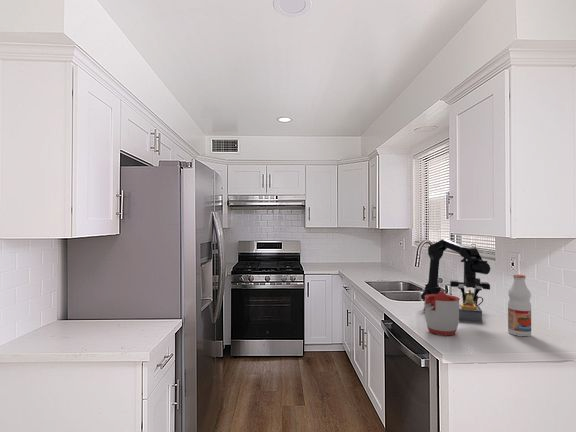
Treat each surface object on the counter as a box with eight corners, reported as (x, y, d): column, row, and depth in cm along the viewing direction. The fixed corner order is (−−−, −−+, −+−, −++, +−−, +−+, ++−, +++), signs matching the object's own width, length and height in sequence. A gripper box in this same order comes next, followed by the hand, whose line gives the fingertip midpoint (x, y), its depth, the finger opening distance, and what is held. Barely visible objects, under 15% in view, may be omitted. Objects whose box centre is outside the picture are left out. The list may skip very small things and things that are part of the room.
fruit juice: (516, 330, 182) (516, 273, 182) (535, 335, 173) (535, 275, 174) (503, 332, 178) (503, 274, 178) (523, 338, 169) (522, 277, 170)
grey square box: (455, 314, 211) (455, 301, 211) (479, 317, 207) (479, 303, 207) (457, 320, 200) (457, 306, 200) (482, 322, 196) (482, 308, 196)
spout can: (464, 302, 198) (465, 288, 198) (473, 303, 197) (473, 289, 197) (465, 304, 194) (465, 290, 194) (473, 305, 193) (474, 290, 193)
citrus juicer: (414, 330, 181) (414, 289, 181) (441, 326, 188) (441, 287, 188) (439, 339, 167) (439, 295, 167) (467, 335, 174) (467, 292, 174)
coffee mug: (462, 312, 217) (462, 295, 217) (461, 309, 225) (461, 292, 225) (484, 314, 213) (484, 297, 213) (483, 311, 221) (483, 294, 221)
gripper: (451, 272, 191) (450, 302, 192) (491, 275, 185) (491, 306, 185) (450, 269, 202) (449, 297, 202) (488, 271, 195) (488, 301, 195)
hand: (469, 300), depth 196 cm, fingers closed on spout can, 4 cm apart
